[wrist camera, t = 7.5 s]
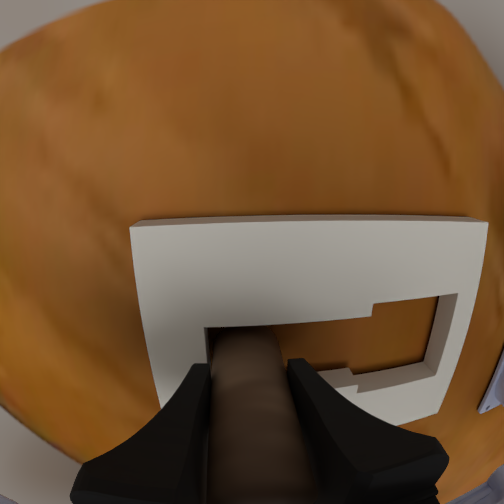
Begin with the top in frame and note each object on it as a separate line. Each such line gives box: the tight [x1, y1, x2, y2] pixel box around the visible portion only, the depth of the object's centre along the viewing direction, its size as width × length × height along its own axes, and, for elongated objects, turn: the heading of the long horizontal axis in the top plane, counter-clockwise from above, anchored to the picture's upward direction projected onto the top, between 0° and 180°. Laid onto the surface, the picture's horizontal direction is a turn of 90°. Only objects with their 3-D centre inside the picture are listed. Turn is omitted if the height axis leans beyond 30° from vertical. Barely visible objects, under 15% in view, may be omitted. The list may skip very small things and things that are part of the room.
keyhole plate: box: [130, 215, 488, 426], centre depth 14 cm, size 16×12×2 cm
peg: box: [206, 325, 318, 504], centre depth 10 cm, size 3×3×8 cm
